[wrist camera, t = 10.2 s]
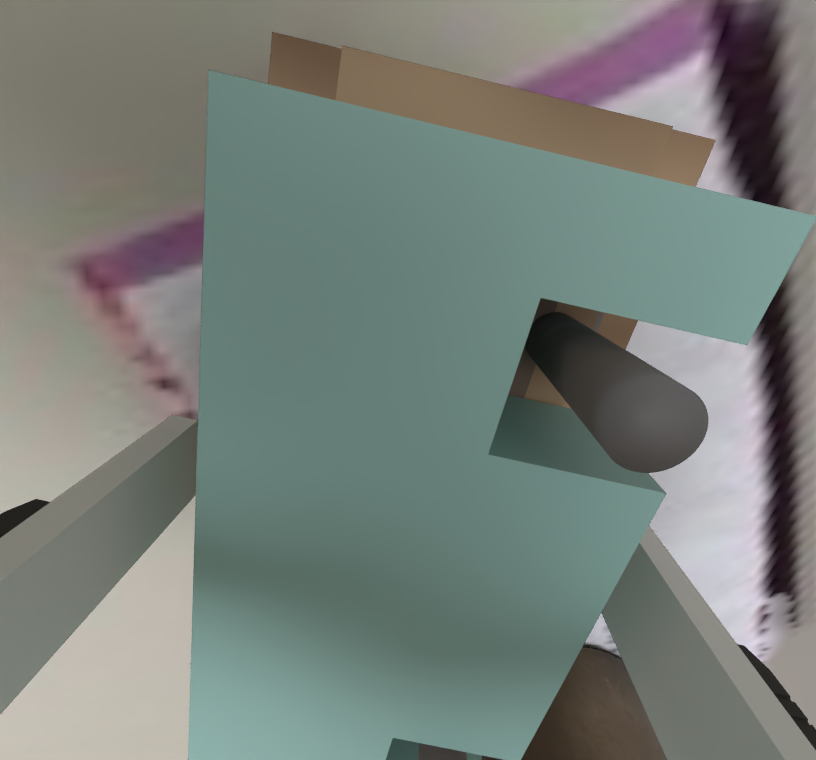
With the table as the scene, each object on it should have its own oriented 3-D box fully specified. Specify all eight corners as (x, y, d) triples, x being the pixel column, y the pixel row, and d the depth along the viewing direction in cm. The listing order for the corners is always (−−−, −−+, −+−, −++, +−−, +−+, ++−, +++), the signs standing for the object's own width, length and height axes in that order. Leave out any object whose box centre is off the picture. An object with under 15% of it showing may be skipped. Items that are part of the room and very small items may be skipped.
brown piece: (290, 54, 13) (-121, -460, 3) (684, 150, 13) (1354, -62, 4) (241, 599, 21) (90, 893, 12) (480, 648, 21) (518, 972, 12)
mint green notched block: (290, 128, 9) (208, 70, 6) (678, 221, 9) (817, 216, 6) (238, 679, 16) (186, 799, 12) (461, 724, 16) (469, 853, 13)
